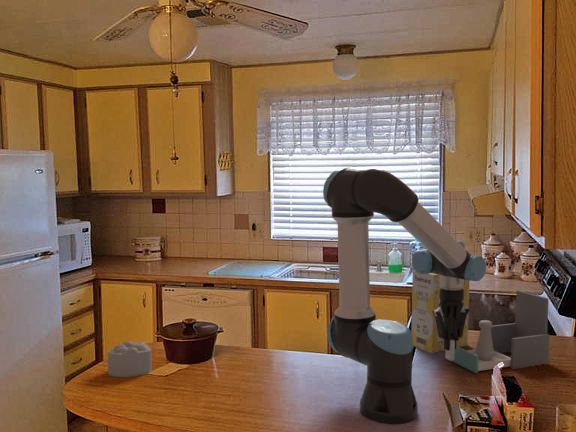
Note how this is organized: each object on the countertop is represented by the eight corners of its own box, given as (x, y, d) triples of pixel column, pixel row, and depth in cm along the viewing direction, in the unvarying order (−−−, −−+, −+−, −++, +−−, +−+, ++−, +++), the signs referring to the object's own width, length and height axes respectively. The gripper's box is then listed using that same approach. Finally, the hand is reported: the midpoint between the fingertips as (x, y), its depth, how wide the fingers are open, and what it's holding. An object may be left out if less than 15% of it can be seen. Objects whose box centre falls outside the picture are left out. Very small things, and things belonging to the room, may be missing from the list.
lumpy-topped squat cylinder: (153, 373, 176) (153, 346, 175) (111, 380, 170) (110, 352, 169) (146, 363, 185) (145, 337, 184) (105, 369, 179) (105, 342, 178)
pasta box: (431, 353, 197) (433, 274, 194) (411, 345, 206) (412, 270, 204) (467, 345, 206) (469, 270, 204) (446, 338, 215) (448, 266, 213)
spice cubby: (512, 369, 180) (515, 302, 179) (480, 354, 195) (482, 292, 193) (548, 363, 186) (550, 299, 184) (514, 350, 200) (516, 290, 198)
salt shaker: (475, 360, 184) (476, 322, 183) (475, 355, 189) (476, 318, 188) (494, 362, 182) (495, 323, 181) (493, 357, 188) (494, 319, 187)
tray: (475, 373, 175) (476, 356, 175) (445, 358, 190) (446, 342, 189) (516, 367, 181) (517, 350, 181) (484, 352, 195) (485, 337, 195)
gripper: (441, 291, 173) (440, 365, 175) (475, 288, 178) (473, 360, 180) (427, 287, 180) (426, 358, 182) (460, 284, 185) (458, 353, 187)
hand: (449, 359), depth 181 cm, fingers closed
